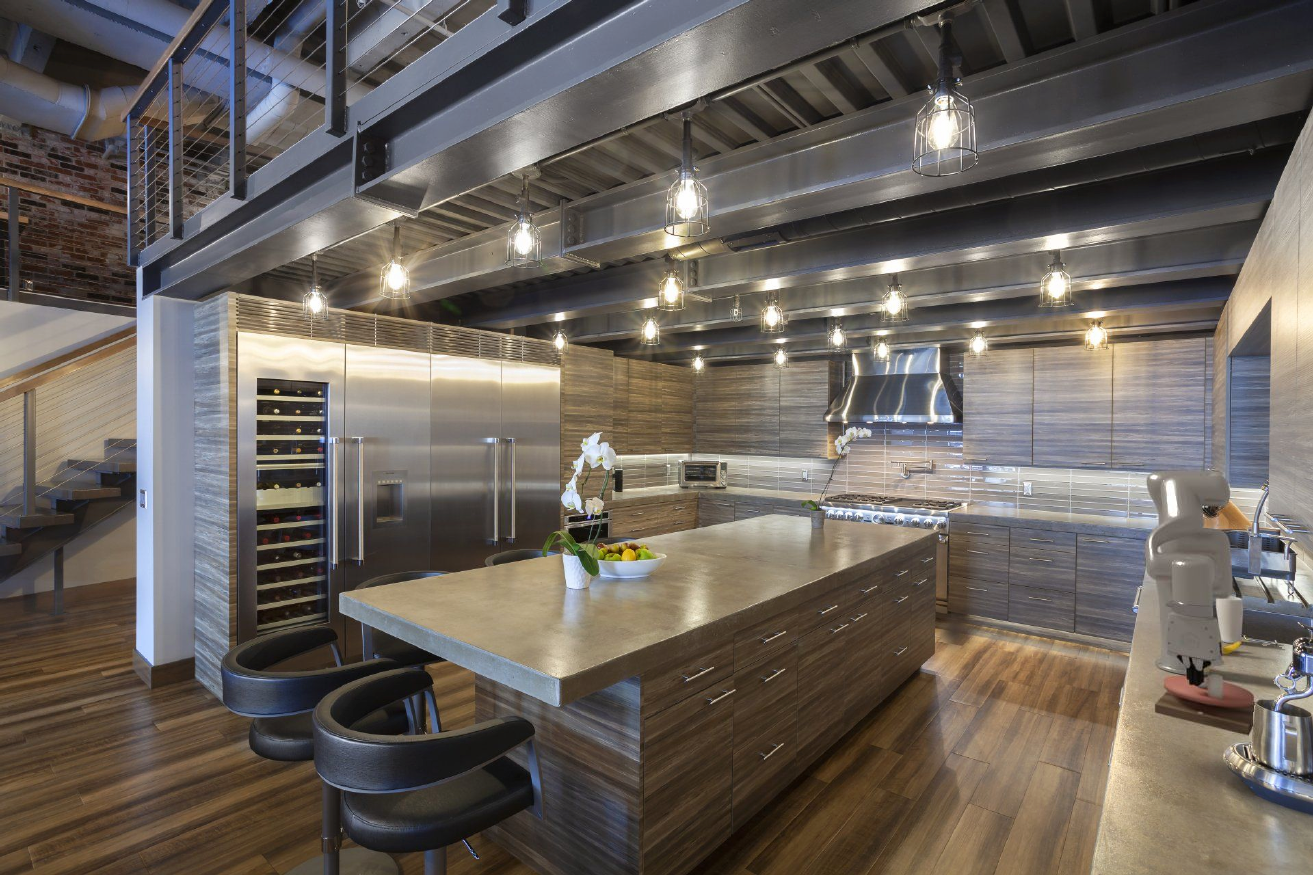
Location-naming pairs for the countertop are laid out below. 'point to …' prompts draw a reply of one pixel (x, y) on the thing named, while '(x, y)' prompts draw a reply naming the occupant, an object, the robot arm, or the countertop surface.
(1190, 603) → the robot arm
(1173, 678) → the handwheel
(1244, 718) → the wheel base
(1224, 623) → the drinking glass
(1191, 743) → the countertop surface
